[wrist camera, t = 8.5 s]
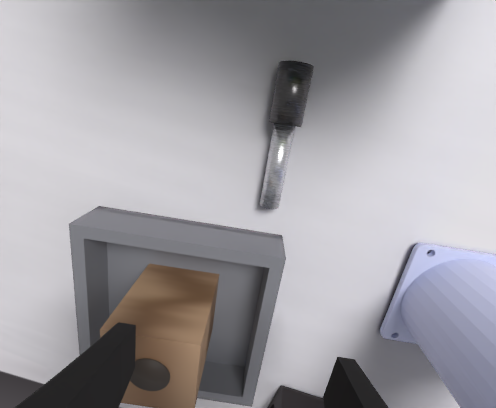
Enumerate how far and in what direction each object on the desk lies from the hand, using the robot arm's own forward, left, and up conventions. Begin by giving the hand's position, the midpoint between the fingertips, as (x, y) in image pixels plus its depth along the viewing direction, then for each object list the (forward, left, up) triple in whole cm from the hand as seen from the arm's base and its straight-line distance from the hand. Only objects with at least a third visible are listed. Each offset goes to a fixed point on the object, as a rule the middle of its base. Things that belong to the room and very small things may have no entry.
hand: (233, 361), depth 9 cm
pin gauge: (-1, -7, -9) cm, 12 cm away
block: (+4, +5, -9) cm, 11 cm away
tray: (+4, +6, -9) cm, 12 cm away
